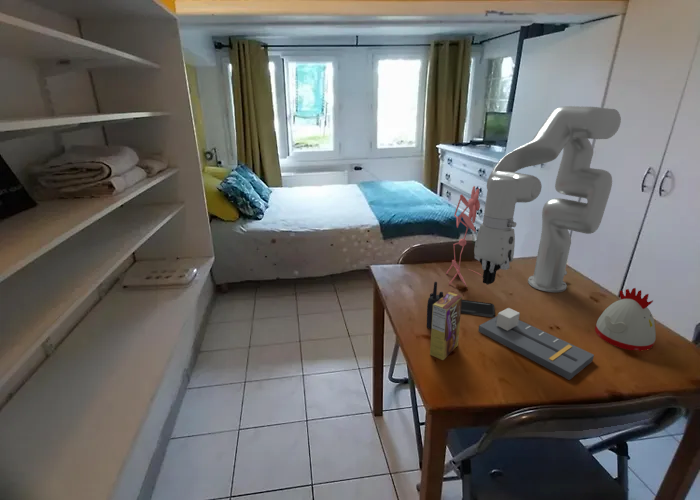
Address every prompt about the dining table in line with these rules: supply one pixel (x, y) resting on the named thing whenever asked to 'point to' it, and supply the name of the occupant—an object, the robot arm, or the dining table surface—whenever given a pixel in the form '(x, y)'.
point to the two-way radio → (431, 301)
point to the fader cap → (508, 319)
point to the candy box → (445, 325)
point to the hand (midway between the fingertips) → (488, 282)
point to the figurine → (473, 206)
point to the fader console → (540, 347)
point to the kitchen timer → (628, 322)
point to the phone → (477, 308)
